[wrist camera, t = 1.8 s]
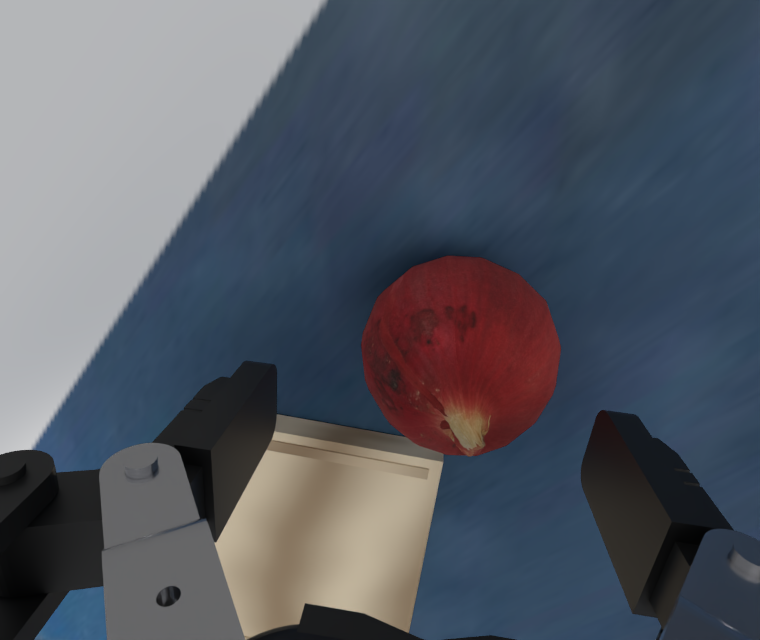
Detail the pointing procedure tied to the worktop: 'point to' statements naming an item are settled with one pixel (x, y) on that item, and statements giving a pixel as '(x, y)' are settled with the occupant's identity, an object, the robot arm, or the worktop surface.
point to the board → (330, 526)
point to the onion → (460, 355)
